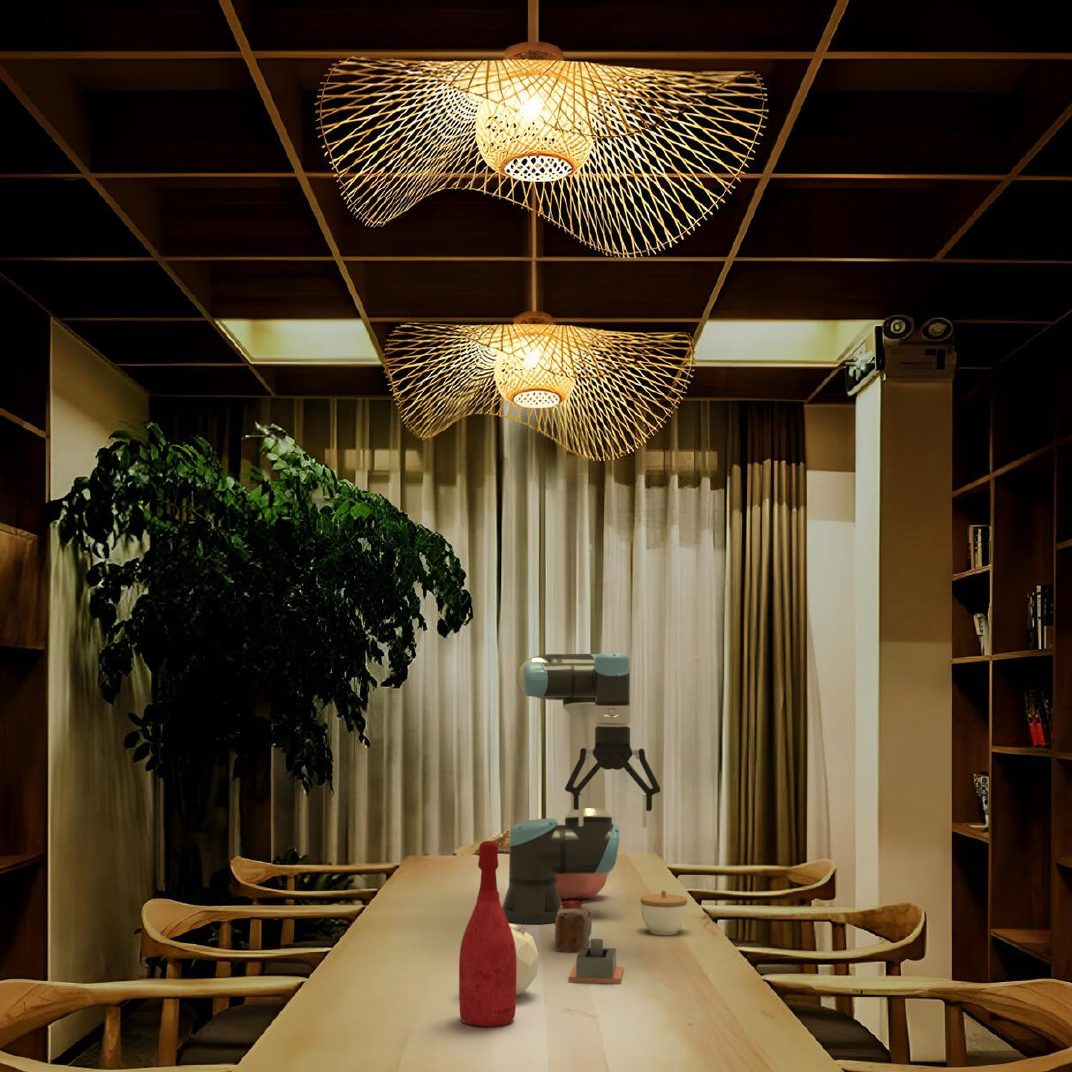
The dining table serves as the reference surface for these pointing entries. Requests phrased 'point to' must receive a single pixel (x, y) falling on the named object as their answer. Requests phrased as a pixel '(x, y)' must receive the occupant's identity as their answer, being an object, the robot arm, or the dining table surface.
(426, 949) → the dining table surface
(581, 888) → the cell model
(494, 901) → the wine bottle
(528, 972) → the geodesic sphere
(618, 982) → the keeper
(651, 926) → the lidded jar
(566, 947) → the food item
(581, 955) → the grey hollow block
